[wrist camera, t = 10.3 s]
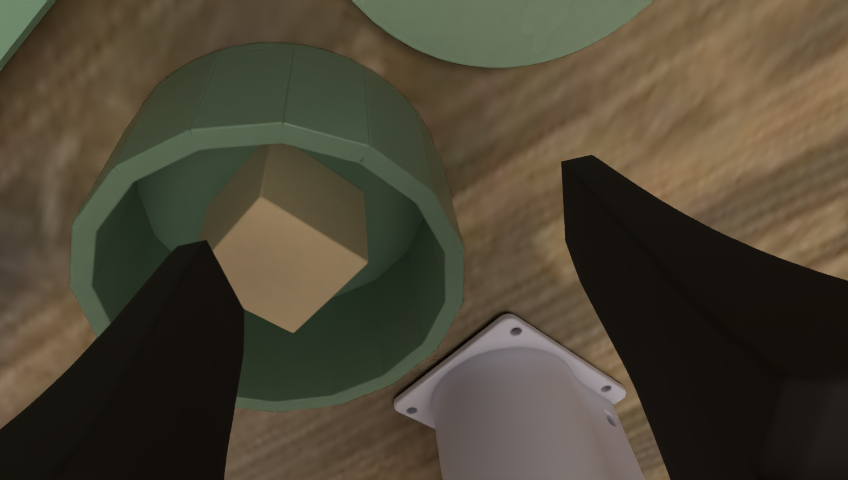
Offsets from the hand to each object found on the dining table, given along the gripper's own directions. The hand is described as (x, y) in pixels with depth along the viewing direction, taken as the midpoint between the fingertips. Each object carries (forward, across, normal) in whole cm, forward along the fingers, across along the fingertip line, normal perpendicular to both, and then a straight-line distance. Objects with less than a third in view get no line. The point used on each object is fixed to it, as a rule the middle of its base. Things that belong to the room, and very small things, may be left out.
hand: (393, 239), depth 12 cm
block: (+9, +4, +4) cm, 11 cm away
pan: (+9, +4, +4) cm, 11 cm away
